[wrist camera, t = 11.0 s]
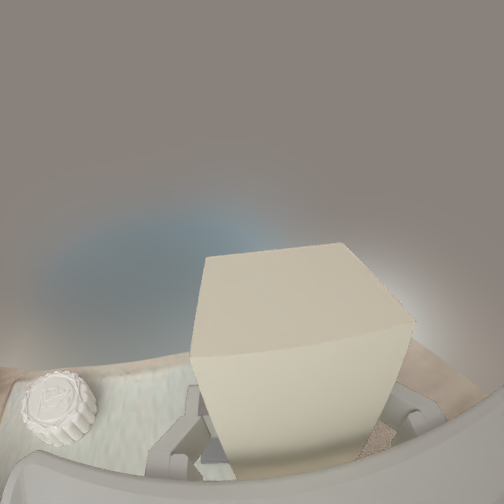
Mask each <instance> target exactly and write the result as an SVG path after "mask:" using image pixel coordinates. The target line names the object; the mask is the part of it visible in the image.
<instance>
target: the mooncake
mask: <svg viewBox="0 0 504 504" xmlns="http://www.w3.org/2000/svg"><path fill="white" fill-rule="evenodd" d="M95 404H96V398H95V397H94V395H93V393H92V391H91V389H90V388H89V386H88V385H87V383H86V382H85V380H84V379H83V378H81V377H79V375H78V374H77V373H71V372H70V371H68V370H66V371H63V372H62V371H61V370H57V371H55V372H54V373H53V372H49V373H47V374H46V375H45V376H41V377H39V378H38V380H37V381H36V382H33V383H32V384H31V385H30V388H29V389H28V390H27V391H26V392H25V397H24V398H23V399H22V405H23V406H22V407H21V413H22V414H23V421H24V422H25V423H26V424H27V427H28V428H29V429H30V430H31V431H32V432H33V433H34V434H35V435H36V436H37V437H38V438H39V439H40V440H43V441H44V442H45V443H46V444H48V445H52V444H54V445H55V446H58V447H59V446H62V445H63V444H65V445H70V444H72V443H73V442H74V440H75V441H78V440H80V439H81V438H82V437H83V434H85V433H87V432H89V430H90V428H91V424H93V423H94V421H95V419H96V417H95V415H94V414H96V412H97V406H96V405H95Z"/></svg>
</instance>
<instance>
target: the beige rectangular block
mask: <svg viewBox="0 0 504 504" xmlns="http://www.w3.org/2000/svg"><path fill="white" fill-rule="evenodd" d="M415 324H416V320H415V319H414V318H413V317H412V315H411V314H410V313H409V312H408V311H407V310H406V309H405V307H404V306H403V305H402V304H401V303H400V302H399V301H398V300H397V299H396V298H395V296H394V295H393V294H392V293H391V292H390V291H389V290H388V289H387V288H386V287H385V286H384V285H383V284H382V282H380V280H379V279H377V277H376V276H375V275H374V274H373V273H372V272H371V271H370V270H369V269H368V268H367V267H366V266H365V265H364V264H363V263H362V262H361V261H360V260H359V259H358V258H357V257H356V256H355V255H354V254H353V253H352V252H351V251H350V250H349V249H348V248H347V247H346V246H345V245H344V244H343V243H334V244H324V245H315V246H306V247H296V248H287V249H278V250H268V251H261V252H250V253H241V254H231V255H222V256H213V257H206V261H205V266H204V271H203V277H202V282H201V288H200V294H199V299H198V305H197V311H196V317H195V323H194V330H193V337H192V342H191V349H190V356H189V359H190V362H191V365H192V368H193V371H194V374H195V377H196V380H197V383H198V386H199V388H200V391H201V394H202V397H203V400H204V402H205V405H206V408H207V410H208V413H209V415H210V418H211V420H212V423H213V425H214V428H215V430H216V433H217V435H218V438H219V440H220V442H221V445H222V447H223V449H224V452H225V454H226V456H227V458H228V461H229V463H230V465H231V467H232V469H233V472H234V474H235V476H236V478H237V480H250V479H261V478H270V477H278V476H285V475H291V474H297V473H303V472H308V471H313V470H318V469H322V468H326V467H331V466H335V465H338V464H342V463H346V462H349V461H353V460H356V459H357V457H358V456H359V454H360V452H361V451H362V449H363V447H364V445H365V444H366V442H367V440H368V438H369V436H370V434H371V433H372V431H373V429H374V427H375V425H376V423H377V421H378V419H379V417H380V415H381V413H382V411H383V409H384V406H385V404H386V402H387V400H388V398H389V395H390V393H391V391H392V388H393V386H394V384H395V381H396V379H397V376H398V374H399V371H400V369H401V366H402V363H403V361H404V358H405V355H406V352H407V349H408V346H409V343H410V340H411V337H412V334H413V331H414V328H415Z"/></svg>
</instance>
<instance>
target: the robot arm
mask: <svg viewBox="0 0 504 504" xmlns="http://www.w3.org/2000/svg"><path fill="white" fill-rule="evenodd" d="M379 419H380V420H381V421H383V422H384V423H385V424H387V425H388V426H389V427H391V428H392V429H394V430H395V431H396V432H398V433H397V434H396V436H395V437H394V439H393V440H392V442H391V445H392V447H391V448H389V449H386V450H383V451H380V452H378V453H375V454H372V455H369V456H366V457H363V458H359V459H356V460H353V461H349V462H346V463H342V464H338V465H335V466H331V467H326V468H322V469H318V470H313V471H308V472H303V473H297V474H291V475H285V476H278V477H270V478H261V479H250V480H233V481H203V476H202V475H201V474H200V472H199V471H198V470H197V469H196V467H195V466H194V463H195V462H196V460H197V459H198V458H199V456H200V455H201V453H202V452H203V450H204V449H205V447H206V446H207V444H208V443H209V441H210V440H211V439H212V438H211V437H218V435H217V433H216V430H215V428H214V425H213V423H212V420H211V418H210V415H209V413H208V410H207V408H206V405H205V402H204V400H203V397H202V394H201V391H200V388H199V386H198V385H189V387H188V391H187V399H186V408H185V416H181V417H180V418H179V419H178V420H177V421H176V423H175V424H174V425H173V426H172V427H171V428H170V429H169V430H168V431H167V432H166V433H165V434H164V435H163V436H162V437H161V438H160V440H159V441H158V442H157V443H156V444H155V445H154V446H153V447H152V448H151V449H150V450H149V451H148V457H147V464H146V470H145V477H144V476H137V475H131V474H125V473H120V472H115V471H110V470H106V469H101V468H97V467H93V466H89V465H86V464H82V463H78V462H75V461H72V460H69V459H65V458H62V457H59V456H57V455H54V454H51V453H49V452H46V451H43V450H37V451H35V452H33V453H31V454H29V455H28V456H26V457H25V458H23V459H22V460H20V461H19V462H17V463H16V465H15V466H14V468H13V469H12V471H11V473H10V475H9V478H8V481H7V483H6V486H5V489H4V492H3V496H2V499H1V503H0V504H504V385H503V386H502V387H501V388H499V389H498V390H496V391H495V392H494V393H492V394H491V395H489V396H488V397H487V398H485V399H484V400H482V401H481V402H479V403H478V404H476V405H474V406H473V407H471V408H470V409H468V410H466V411H465V412H463V413H461V414H460V415H458V416H456V417H455V418H453V419H451V420H449V421H447V419H446V417H445V416H444V414H443V412H442V411H441V409H440V407H439V406H438V404H437V403H436V401H434V400H432V399H430V398H428V397H425V396H423V395H421V394H419V393H417V392H415V391H413V390H412V389H410V388H408V387H406V386H404V385H402V384H400V383H398V382H395V384H394V386H393V388H392V391H391V393H390V395H389V398H388V400H387V402H386V404H385V406H384V409H383V411H382V413H381V415H380V417H379Z"/></svg>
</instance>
